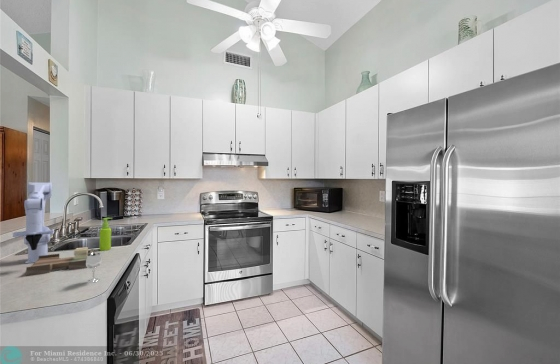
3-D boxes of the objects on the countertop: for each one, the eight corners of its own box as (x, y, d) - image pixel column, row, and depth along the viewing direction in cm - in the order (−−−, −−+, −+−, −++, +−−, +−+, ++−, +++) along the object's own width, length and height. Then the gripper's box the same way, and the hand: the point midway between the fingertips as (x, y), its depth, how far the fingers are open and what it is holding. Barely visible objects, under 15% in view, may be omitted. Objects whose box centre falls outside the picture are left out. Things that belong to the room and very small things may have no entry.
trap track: (39, 262, 129) (39, 254, 129) (93, 256, 141) (93, 248, 141) (26, 275, 113) (26, 266, 113) (88, 267, 125) (88, 258, 125)
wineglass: (91, 278, 112) (91, 252, 112) (104, 278, 113) (104, 252, 113) (82, 283, 107) (82, 256, 106) (95, 283, 107) (96, 256, 107)
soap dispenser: (114, 248, 158) (115, 217, 157) (103, 251, 151) (104, 219, 151) (108, 247, 160) (108, 216, 159) (97, 250, 153) (97, 218, 153)
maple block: (76, 257, 132) (76, 248, 132) (87, 256, 134) (87, 247, 134) (74, 260, 127) (74, 250, 127) (86, 258, 130) (86, 249, 130)
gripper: (10, 225, 114) (9, 253, 115) (51, 222, 122) (51, 249, 122) (16, 222, 120) (15, 249, 121) (55, 220, 128) (55, 246, 128)
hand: (34, 249), depth 122 cm, fingers closed
